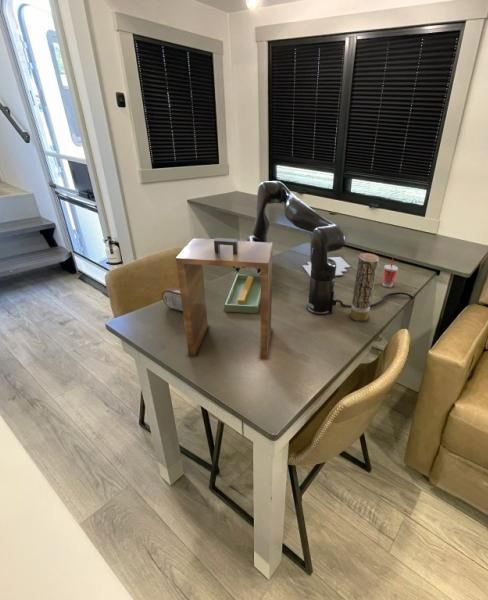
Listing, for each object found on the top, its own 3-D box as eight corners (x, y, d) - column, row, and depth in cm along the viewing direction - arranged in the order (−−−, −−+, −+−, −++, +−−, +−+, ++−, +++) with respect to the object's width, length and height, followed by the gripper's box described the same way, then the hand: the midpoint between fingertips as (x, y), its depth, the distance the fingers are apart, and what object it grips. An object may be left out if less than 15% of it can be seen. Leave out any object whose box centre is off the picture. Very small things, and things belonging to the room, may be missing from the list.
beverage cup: (393, 282, 156) (399, 255, 149) (394, 288, 150) (401, 260, 144) (380, 281, 156) (385, 253, 149) (381, 287, 151) (387, 258, 144)
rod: (253, 281, 147) (253, 276, 146) (244, 305, 128) (243, 300, 127) (248, 280, 147) (248, 276, 146) (237, 305, 128) (237, 300, 127)
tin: (201, 312, 123) (199, 292, 118) (196, 316, 120) (194, 296, 116) (168, 303, 126) (164, 284, 122) (162, 307, 124) (159, 287, 120)
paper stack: (296, 259, 173) (296, 258, 173) (340, 256, 181) (340, 255, 180) (310, 278, 154) (310, 277, 154) (358, 274, 161) (359, 273, 161)
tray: (236, 280, 148) (236, 274, 146) (264, 281, 148) (264, 275, 147) (225, 311, 124) (224, 304, 123) (257, 313, 125) (257, 306, 123)
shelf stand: (271, 329, 116) (272, 231, 99) (267, 358, 102) (268, 250, 85) (202, 326, 115) (191, 226, 97) (188, 355, 101) (173, 244, 84)
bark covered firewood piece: (367, 323, 123) (379, 261, 111) (349, 320, 124) (358, 258, 112) (368, 314, 129) (379, 254, 117) (350, 311, 130) (360, 252, 118)
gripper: (236, 247, 149) (230, 261, 135) (268, 249, 150) (265, 263, 136) (237, 262, 153) (231, 277, 139) (268, 264, 154) (265, 279, 140)
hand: (247, 270), depth 137 cm, fingers open, 8 cm apart
